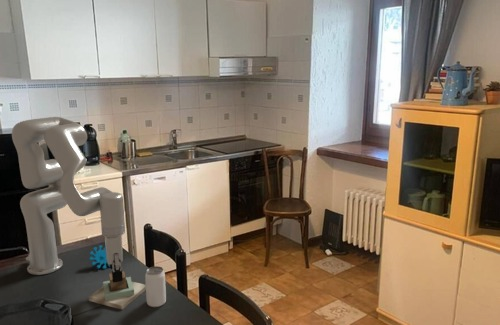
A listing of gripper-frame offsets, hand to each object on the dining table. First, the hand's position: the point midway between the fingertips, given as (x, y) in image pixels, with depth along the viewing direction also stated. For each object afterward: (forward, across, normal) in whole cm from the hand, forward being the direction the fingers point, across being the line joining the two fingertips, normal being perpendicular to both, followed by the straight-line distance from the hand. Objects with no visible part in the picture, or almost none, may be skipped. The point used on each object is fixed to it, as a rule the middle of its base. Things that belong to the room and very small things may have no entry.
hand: (116, 274), depth 144 cm
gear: (+8, -24, -2) cm, 26 cm away
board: (+8, +1, 0) cm, 8 cm away
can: (+8, +10, +12) cm, 18 cm away
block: (+6, 0, 0) cm, 6 cm away
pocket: (+6, +1, 0) cm, 6 cm away
